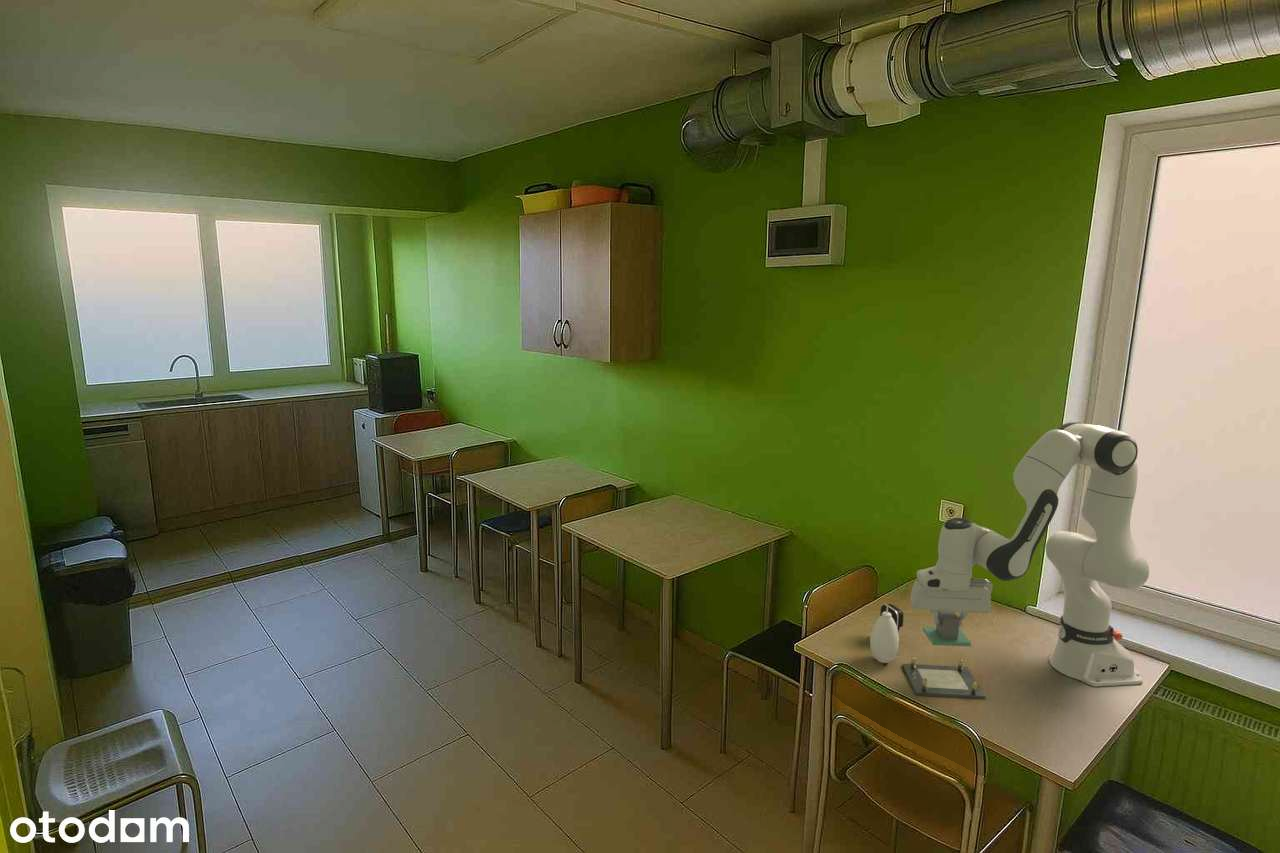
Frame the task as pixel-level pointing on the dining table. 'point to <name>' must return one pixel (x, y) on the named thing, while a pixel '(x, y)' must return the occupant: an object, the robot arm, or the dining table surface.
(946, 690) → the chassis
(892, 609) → the battery charger
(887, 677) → the dining table surface
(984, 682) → the dining table surface
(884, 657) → the white air blower bulb
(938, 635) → the board
